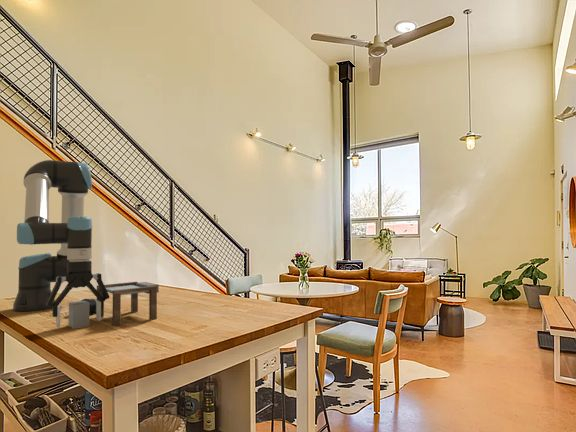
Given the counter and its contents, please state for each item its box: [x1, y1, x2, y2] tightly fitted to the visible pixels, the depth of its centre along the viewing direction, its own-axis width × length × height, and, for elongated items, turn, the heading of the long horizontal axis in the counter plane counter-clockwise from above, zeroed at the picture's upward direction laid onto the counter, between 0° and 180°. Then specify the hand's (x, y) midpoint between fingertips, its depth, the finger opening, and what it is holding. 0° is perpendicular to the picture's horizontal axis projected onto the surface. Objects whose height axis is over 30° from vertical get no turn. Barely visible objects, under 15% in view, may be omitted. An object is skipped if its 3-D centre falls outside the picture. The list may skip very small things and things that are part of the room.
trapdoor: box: [106, 281, 160, 296], centre depth 143 cm, size 15×16×3 cm
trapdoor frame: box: [96, 281, 158, 327], centre depth 141 cm, size 20×15×12 cm
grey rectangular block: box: [68, 300, 90, 329], centre depth 130 cm, size 6×5×8 cm
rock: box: [80, 298, 97, 314], centre depth 152 cm, size 10×9×6 cm
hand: (78, 323), depth 130 cm, fingers open, 12 cm apart
